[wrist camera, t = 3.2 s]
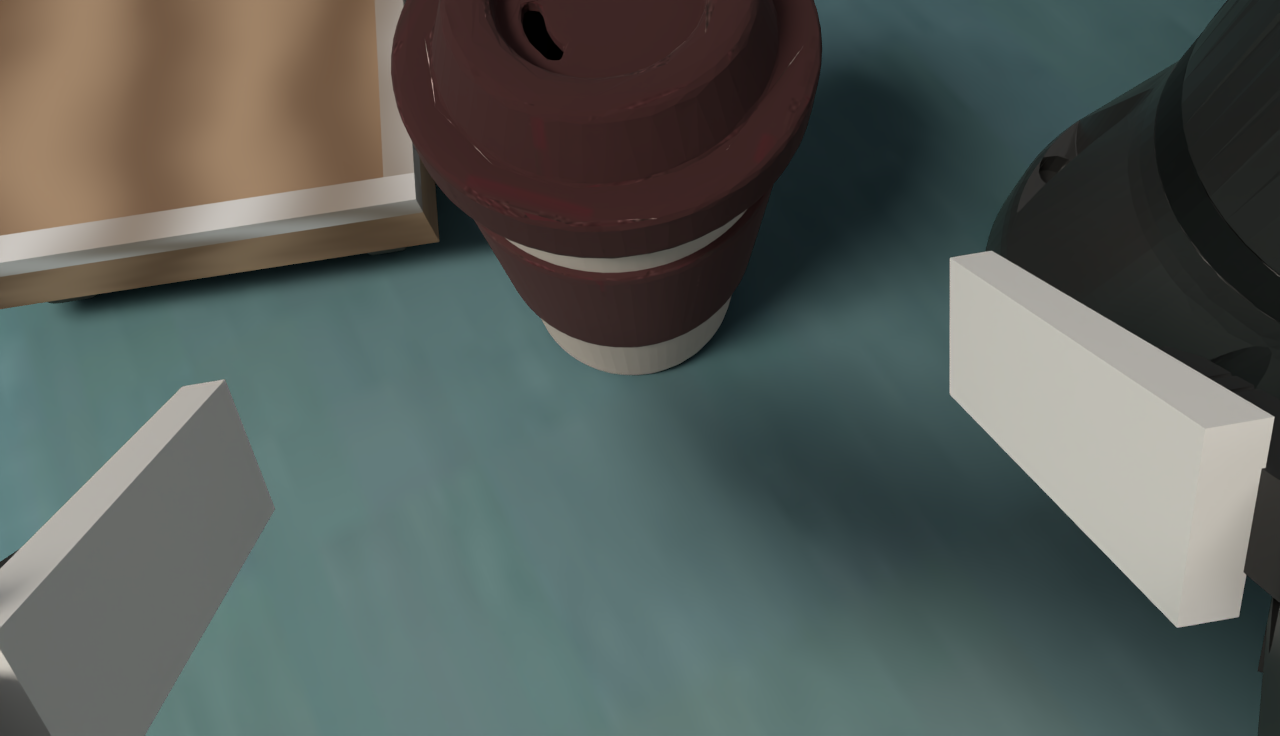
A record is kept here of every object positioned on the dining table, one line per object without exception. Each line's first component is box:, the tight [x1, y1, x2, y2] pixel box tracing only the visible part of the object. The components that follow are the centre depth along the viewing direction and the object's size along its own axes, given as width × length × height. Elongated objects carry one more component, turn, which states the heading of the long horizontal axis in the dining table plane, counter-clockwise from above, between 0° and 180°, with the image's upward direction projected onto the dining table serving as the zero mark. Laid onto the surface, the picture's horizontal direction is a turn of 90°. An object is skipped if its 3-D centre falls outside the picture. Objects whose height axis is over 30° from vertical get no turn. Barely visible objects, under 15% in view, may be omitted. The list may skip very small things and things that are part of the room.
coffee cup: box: [391, 0, 822, 375], centre depth 25 cm, size 10×10×15 cm
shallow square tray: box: [0, 0, 439, 309], centre depth 32 cm, size 17×17×6 cm
